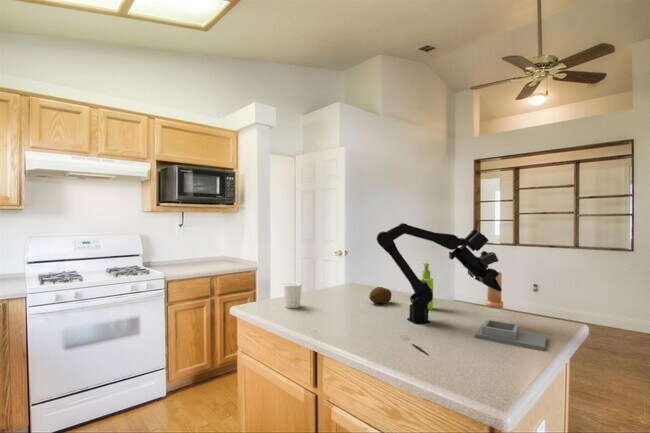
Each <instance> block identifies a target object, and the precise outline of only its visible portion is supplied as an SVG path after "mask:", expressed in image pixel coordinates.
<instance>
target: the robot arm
mask: <svg viewBox="0 0 650 433" xmlns="http://www.w3.org/2000/svg"><path fill="white" fill-rule="evenodd" d="M403 235H407V236H408V235H409V236H412V237H416V238H418V239H419V238H420V239H422V240H423V239H424V240H426V241H430V242H433V243H435V244H437V245H439V246H440V247H443V248H445V249H447V250H448V249H449V250H452V251H448V259H450V260H452V261H453V259H456V260H458V262H459V263H460V264H461V265H462V266H463V268H465V269H466V270H467V274H468V275H469V276H470V277H471V278H473V279H474V280H476V281H478V282H480V283H481V284H482V285H485V286H487V287H488V286H489V287H491V288H493V289H495V290H497V291H499V292H500V291H501V290H502V291H503V289H501V287H500V285H499V284H498V282H497V280H496V277H497V276H498V275H499V273H498V272H499V271H497V270H496V269H495V268H489V265H492V264H494V263H497V262H499V259H498V256H497V255H496V253H495V252H493V251H491V252H487V251H486V250H483V251H482V252H480V256H476V255H475V254H474V253H473V252H475V251H476V252H479V251H480V250H481V249H482V248H483V247H484V246H485V245H486V244H487V243H488V242H489V239H488V237H486V235H485V234H482V233H481V232H480V231H478V230H477V229H474V228H473V229H472V230H471V231H470V233H469V234H468V235H467V236H466V237H464V238H463V237H460V238H459V236H457V235H455V234H451V233H444V232H441V233H440V232H434V231H431V230H428V229H425V228H424V229H423V228H419V227H416V226H412V225H409V224H408V223H403V222H401V223H400V224H399V223H398V225H397V226H394V227H392V228H390V229H389V230H386V231H384V230H383V231H380V232H378V234H377V235H376V237H375V238H376V241H377V243H378V245H379V246H380V248H382V249H384V251H385V252H386V253H387V254H389V256H390V257H391V258H392V260H393V261H394V262H395V264H396V265H397V267H398V268H399V269H400V271H401V272H402V274H403V275H404V277H405V278H406V280H408V282H409V284H410V286H411V289H412V290H413V294H412V295H410V297H409V300H410V303H411V304H409V317H407V318H406V320H408V321H409V322H412V323H413V324H416V325H420V324H429V323H431V320H429V310H428V303H429V302H431V301H432V299H433V300H434V293H433V294H432V292H431V291H433V292H434V289H433V290H432V289H431V288H430V287H429V286H428V284H427V282H426V281H425V280H424V279H423V280H422V281H420V280H419V279H420V278H419V277H418V276H417V275H416V273H415V272H414V271H413V269H412V268H411V267H410V265H409V264H408V262H407V260H405V258H404V257H403V255H402V254H401V253H400V251H399V250H398V247H397V245H396V243H395V240H397V239H398V238H399V237H401V236H403Z"/></svg>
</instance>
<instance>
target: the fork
mask: <svg viewBox="0 0 650 433" xmlns="http://www.w3.org/2000/svg"><path fill="white" fill-rule="evenodd" d="M398 335H399V336H400V338H401V340H402V342H407V341H410V339H409V337H408V336H407V334H406V333H405V332H404V333H402V332H401V333H400V332H399V333H398ZM409 344H410V345H411V346H413V347H414V349H416V350H418V351H419V352H422V353H423V354H424V355H427V356H428V357H429V356H430V354H429V353H428V352H426V351H425V350H424V349H422V347H420V346H418V345H416V344H414V343H413V342H409Z"/></svg>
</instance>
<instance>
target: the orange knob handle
mask: <svg viewBox="0 0 650 433" xmlns="http://www.w3.org/2000/svg"><path fill="white" fill-rule="evenodd" d="M497 272H498V273H499V275H498V276H497V277H496V280H497V282H498V284H499V285H500V287H501V289H502V288H503V286H502V284H503V283H502V280H503V278H502V276H503V273H502V272H500V271H497ZM502 291H503V289H502V290H501V291H500V292H499V291H497V290H495V289H493V288H491V287H489V286H487V291H486V292H487V296H486V297H487V299H485V307H487V308H490V309H497V310H499V309H501V310H502V309H504V302H503V301H502Z"/></svg>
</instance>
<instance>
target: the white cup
mask: <svg viewBox="0 0 650 433" xmlns="http://www.w3.org/2000/svg"><path fill="white" fill-rule="evenodd" d="M302 285H303V284H302V283H300V282H286V283H283V292H284V293H283V295H284V307H285V308H287V309H296V308H300V307H301V299H302V298H301V297H302Z"/></svg>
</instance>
